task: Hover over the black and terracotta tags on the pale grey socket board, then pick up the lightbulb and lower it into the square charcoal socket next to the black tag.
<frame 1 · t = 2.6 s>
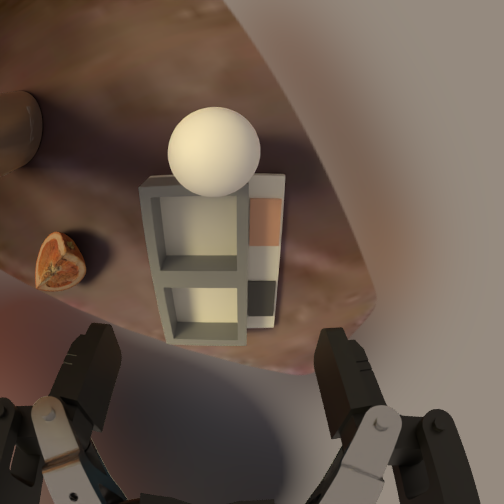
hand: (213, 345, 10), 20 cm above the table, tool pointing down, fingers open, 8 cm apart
lightbulb: (221, 137, 26), on the table
socket board: (218, 259, 32), on the table
fruit slice: (70, 250, 31), on the table
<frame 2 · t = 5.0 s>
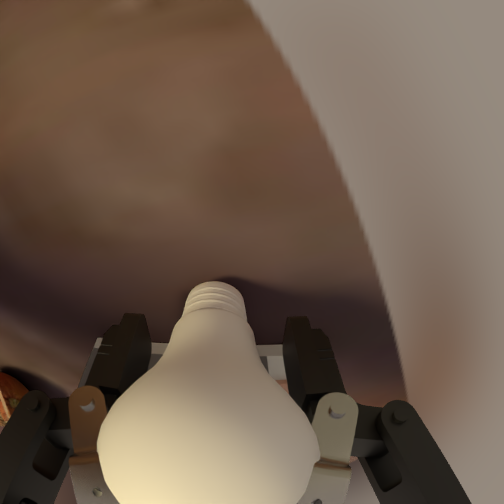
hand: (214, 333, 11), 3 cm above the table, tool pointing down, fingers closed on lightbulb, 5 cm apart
lightbulb: (216, 290, 13), on the table, touching gripper
socket board: (217, 423, 20), on the table
fruit slice: (21, 382, 18), on the table
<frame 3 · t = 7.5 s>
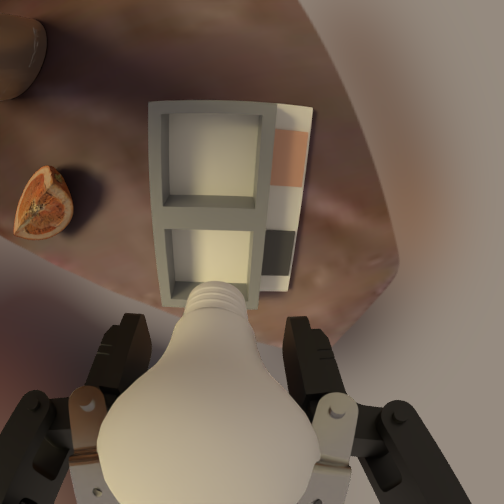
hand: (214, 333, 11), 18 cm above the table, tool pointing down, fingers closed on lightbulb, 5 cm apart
lightbulb: (217, 290, 13), point 15 cm above the table, touching gripper
socket board: (230, 203, 27), on the table
fruit slice: (57, 194, 25), on the table
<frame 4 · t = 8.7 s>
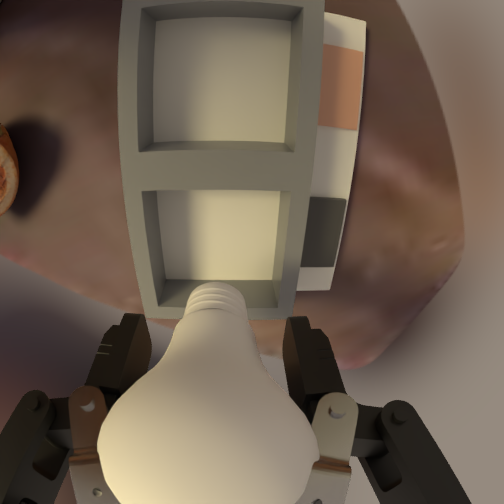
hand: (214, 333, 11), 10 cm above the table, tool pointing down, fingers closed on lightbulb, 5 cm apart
lightbulb: (217, 291, 13), point 7 cm above the table, touching gripper
socket board: (247, 155, 17), on the table
fruit slice: (7, 161, 15), on the table
when the fingers open (5 cm above the table, at t = 10.0 s): lightbulb drops 2 cm, resting on socket board.
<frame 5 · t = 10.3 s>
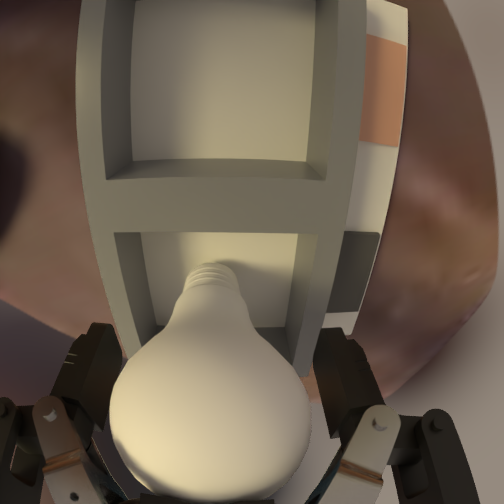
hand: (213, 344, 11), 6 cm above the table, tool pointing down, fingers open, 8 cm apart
lightbulb: (212, 272, 15), point 1 cm above the table, touching socket board
socket board: (257, 176, 13), on the table
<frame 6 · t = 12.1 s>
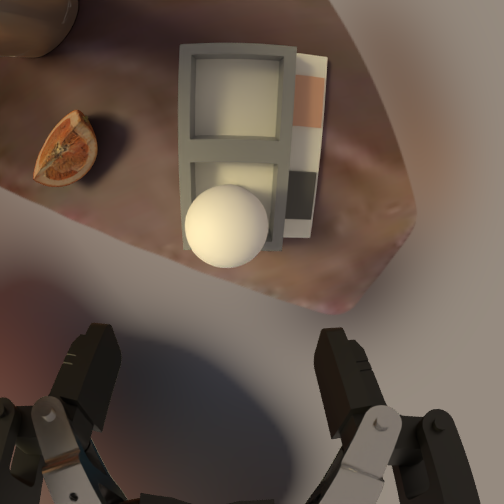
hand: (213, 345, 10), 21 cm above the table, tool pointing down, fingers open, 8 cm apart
lightbulb: (230, 193, 29), point 1 cm above the table, touching socket board
socket board: (253, 145, 27), on the table
fruit slice: (80, 143, 26), on the table
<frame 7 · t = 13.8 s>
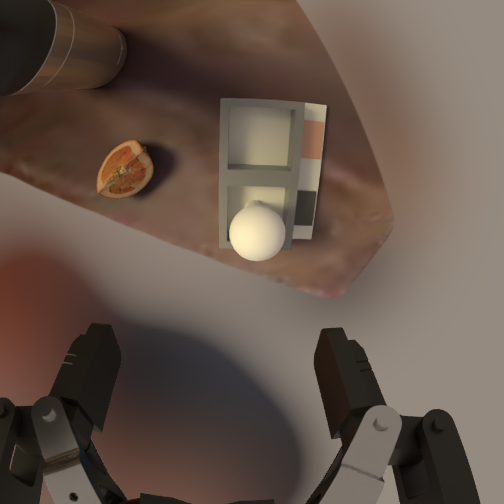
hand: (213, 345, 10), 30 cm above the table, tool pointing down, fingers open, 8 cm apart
lightbulb: (253, 206, 39), point 1 cm above the table, touching socket board
socket board: (270, 171, 37), on the table
fruit slice: (133, 164, 36), on the table
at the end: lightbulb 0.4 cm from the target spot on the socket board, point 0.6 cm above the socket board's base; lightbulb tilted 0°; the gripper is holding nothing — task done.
